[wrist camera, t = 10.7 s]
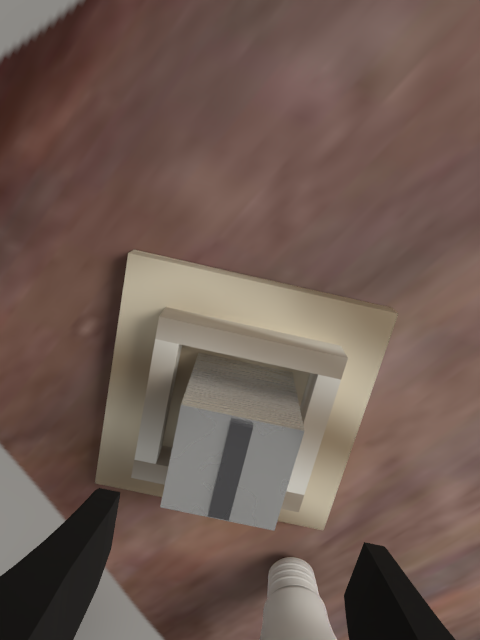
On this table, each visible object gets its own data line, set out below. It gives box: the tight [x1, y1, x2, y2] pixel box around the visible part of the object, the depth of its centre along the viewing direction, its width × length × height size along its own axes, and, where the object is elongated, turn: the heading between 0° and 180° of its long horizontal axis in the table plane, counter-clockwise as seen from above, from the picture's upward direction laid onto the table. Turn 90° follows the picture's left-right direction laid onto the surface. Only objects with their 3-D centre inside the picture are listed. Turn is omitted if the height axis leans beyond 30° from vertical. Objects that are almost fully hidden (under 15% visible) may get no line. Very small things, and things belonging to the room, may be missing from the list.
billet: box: [160, 352, 305, 530], centre depth 18 cm, size 4×4×5 cm
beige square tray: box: [95, 250, 398, 530], centre depth 20 cm, size 12×12×2 cm
